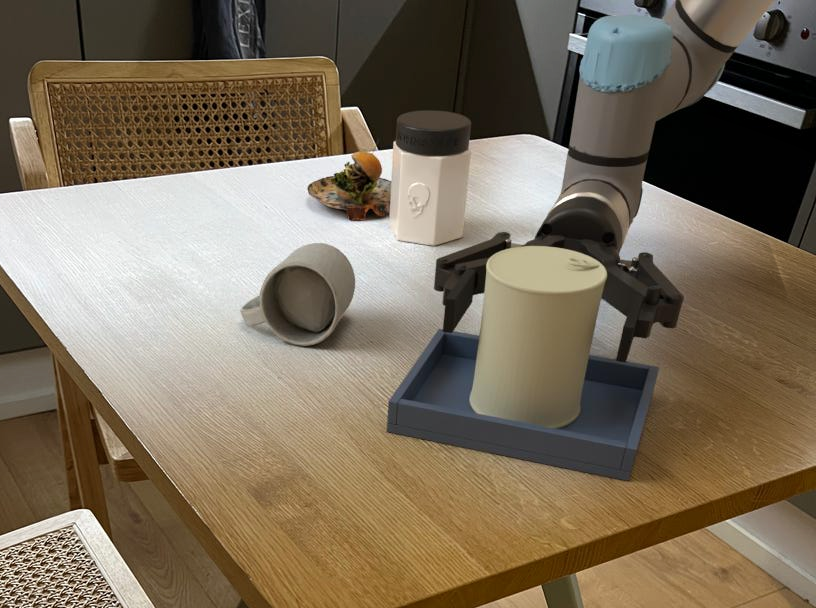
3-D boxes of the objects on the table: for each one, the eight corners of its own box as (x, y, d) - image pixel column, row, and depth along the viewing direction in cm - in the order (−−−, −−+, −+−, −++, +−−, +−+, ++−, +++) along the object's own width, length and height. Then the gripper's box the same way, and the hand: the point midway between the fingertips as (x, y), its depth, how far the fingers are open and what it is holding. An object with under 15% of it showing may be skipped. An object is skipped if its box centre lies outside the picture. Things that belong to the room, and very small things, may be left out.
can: (597, 426, 79) (630, 280, 71) (490, 437, 77) (511, 289, 69) (555, 374, 85) (580, 235, 77) (455, 383, 84) (470, 242, 76)
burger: (318, 185, 125) (318, 121, 120) (408, 193, 124) (412, 128, 119) (296, 216, 117) (296, 149, 112) (393, 224, 115) (397, 157, 110)
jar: (377, 238, 111) (383, 124, 103) (399, 216, 117) (406, 106, 109) (452, 250, 109) (463, 134, 101) (471, 226, 115) (483, 115, 107)
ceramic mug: (358, 315, 95) (359, 236, 90) (338, 351, 90) (338, 268, 84) (256, 305, 97) (251, 226, 92) (230, 339, 91) (223, 257, 86)
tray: (652, 396, 84) (659, 366, 82) (628, 481, 74) (636, 449, 72) (436, 357, 89) (438, 328, 87) (386, 431, 79) (388, 400, 77)
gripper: (710, 299, 88) (689, 404, 73) (446, 259, 94) (377, 349, 80) (734, 213, 83) (717, 307, 68) (453, 178, 89) (382, 257, 74)
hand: (534, 330), depth 74 cm, fingers open, 13 cm apart
